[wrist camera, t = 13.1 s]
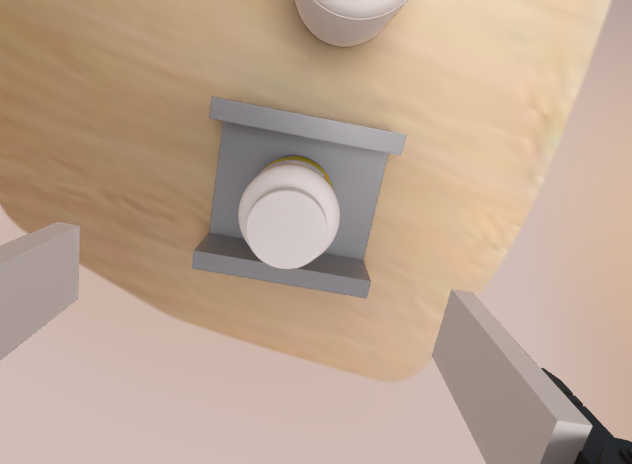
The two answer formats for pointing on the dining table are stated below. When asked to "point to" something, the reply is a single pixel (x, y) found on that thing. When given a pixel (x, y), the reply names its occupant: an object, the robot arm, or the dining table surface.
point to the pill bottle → (347, 19)
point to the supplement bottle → (289, 212)
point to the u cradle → (340, 165)
